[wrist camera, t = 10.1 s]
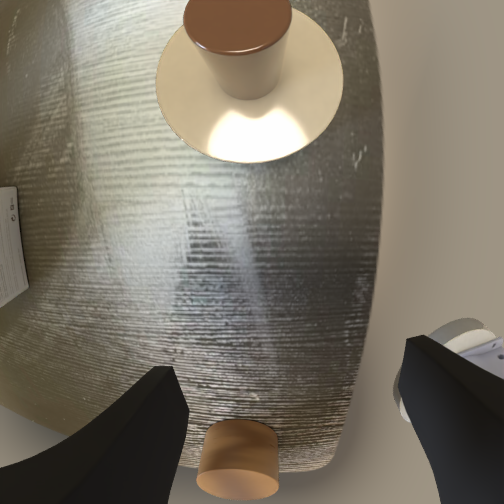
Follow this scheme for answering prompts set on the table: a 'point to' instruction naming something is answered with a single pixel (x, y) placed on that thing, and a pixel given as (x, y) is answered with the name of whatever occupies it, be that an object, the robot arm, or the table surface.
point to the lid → (248, 80)
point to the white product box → (10, 248)
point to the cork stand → (239, 460)
